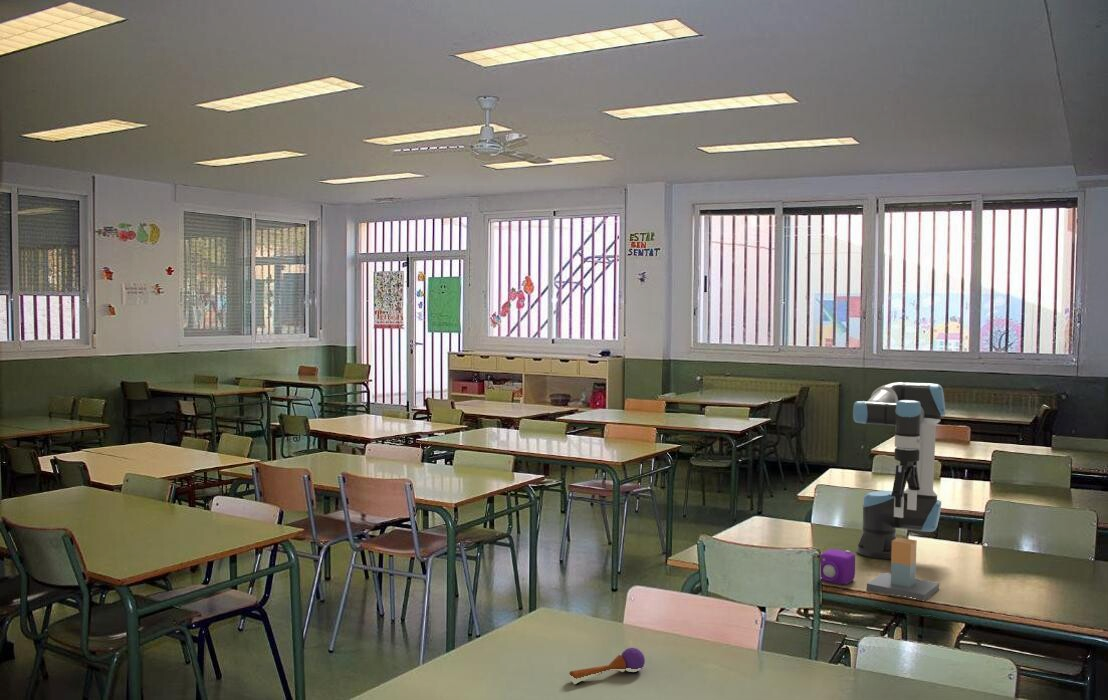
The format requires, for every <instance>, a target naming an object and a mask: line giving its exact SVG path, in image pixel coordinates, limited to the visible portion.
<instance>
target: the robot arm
mask: <svg viewBox="0 0 1108 700" xmlns="http://www.w3.org/2000/svg"><path fill="white" fill-rule="evenodd" d="M945 415H946V402H945V394H944V389H943V387H942V385H940V384H939V383H929V382H904V381H903V382H902V381H895V382H890V383H887V384H884V385H881V386H879V387H878V388H875V390H873V391H872V393H871V395H870V398H869V399H868V400H867V401H865V400H862V401H861V400H860V401H858V400H857V401H855V402H854V403H853V409H852V419H853V422H855V423H857V424H863V425H865V424H867V425H881V426H882V425H883V426H884V425H885V426H895V431H894V432H895V433H894V447H895V448H894V458H893V459H894V460H895V461H898V462H899V464H898V465H896V466H895V474H894V480H893V486H892V491H891V490H876V491H871V492H867V493H866V494H865V495H864V496H863V503H862V533H861V535H860V538H859V539H858V540H859V541H858V542H857V545H856V552H857V553H858V554H859V555H861V556H865V557H868V558H872V557H873V558H874V559H880V558H883V560H891V551H892V540H894V539H896V538H897V534H896V533H897V532H896V531H897V529H902V530H908V531H909V530H910V531H916V532H917V531H918V532H921V533H922V532H929V533H932V532H934V531H936V530H937V528H938V525H939V524H938V523H939V520H940V515H941V509H942V501H941V500H940V499H939V500H938V494H937V493H936V492H935V491H934V478H935V477H934V476H935V474H934V473H935V454H936V453H935V452H936V451H935V450H936V449H935V448H936V434H937V433H936V427H937V424H939V423H940V422H941V419H942V418H941V417H945ZM906 485H907V488H906ZM905 488H906V489H905ZM873 558H872V559H873Z"/></svg>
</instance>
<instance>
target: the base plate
mask: <svg viewBox="0 0 1108 700" xmlns="http://www.w3.org/2000/svg"><path fill="white" fill-rule="evenodd" d="M938 589H940V583H939V582H935V581H930V580H929V581H928V580H924V579H918V578H915V584H913V585H912V586H911V587H906V586H901V585H895V584H891V573H887V572H882V573H880V574H879V575H878V576H876V577H875V578H873V579H871V580H870V581H868V582H866V590H867V591H871V592H872V591H873V592H878V593H883V594H888V595H891V594H894V595H893V596H896V595H900V596H899V597H901V596H906V597H912V598H916V599H919V600H918V601H921V600H924V601H923V602H925V601H927V600H928V599H929V598H930V597H931V596H933V595H934V594H935V593H936V592H937V591H939V590H938ZM932 594H933V595H932ZM929 596H930V597H929ZM906 597H905V598H906ZM928 597H929V598H928ZM927 598H928V599H927ZM916 599H915V600H916Z"/></svg>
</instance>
